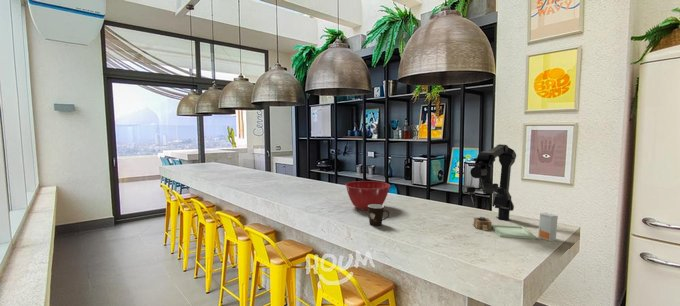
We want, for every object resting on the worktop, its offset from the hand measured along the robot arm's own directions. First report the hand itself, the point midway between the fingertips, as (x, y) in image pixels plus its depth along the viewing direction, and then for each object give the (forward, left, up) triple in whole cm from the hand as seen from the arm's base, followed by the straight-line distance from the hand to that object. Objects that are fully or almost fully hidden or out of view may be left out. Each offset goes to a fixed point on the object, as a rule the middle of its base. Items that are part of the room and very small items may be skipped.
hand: (483, 206), depth 168 cm
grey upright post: (0, 0, -12) cm, 12 cm away
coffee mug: (+6, -55, -12) cm, 56 cm away
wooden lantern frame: (0, 0, -11) cm, 11 cm away
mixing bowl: (-29, -63, -12) cm, 70 cm away
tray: (+6, +12, -12) cm, 18 cm away
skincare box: (+11, +26, -12) cm, 31 cm away
